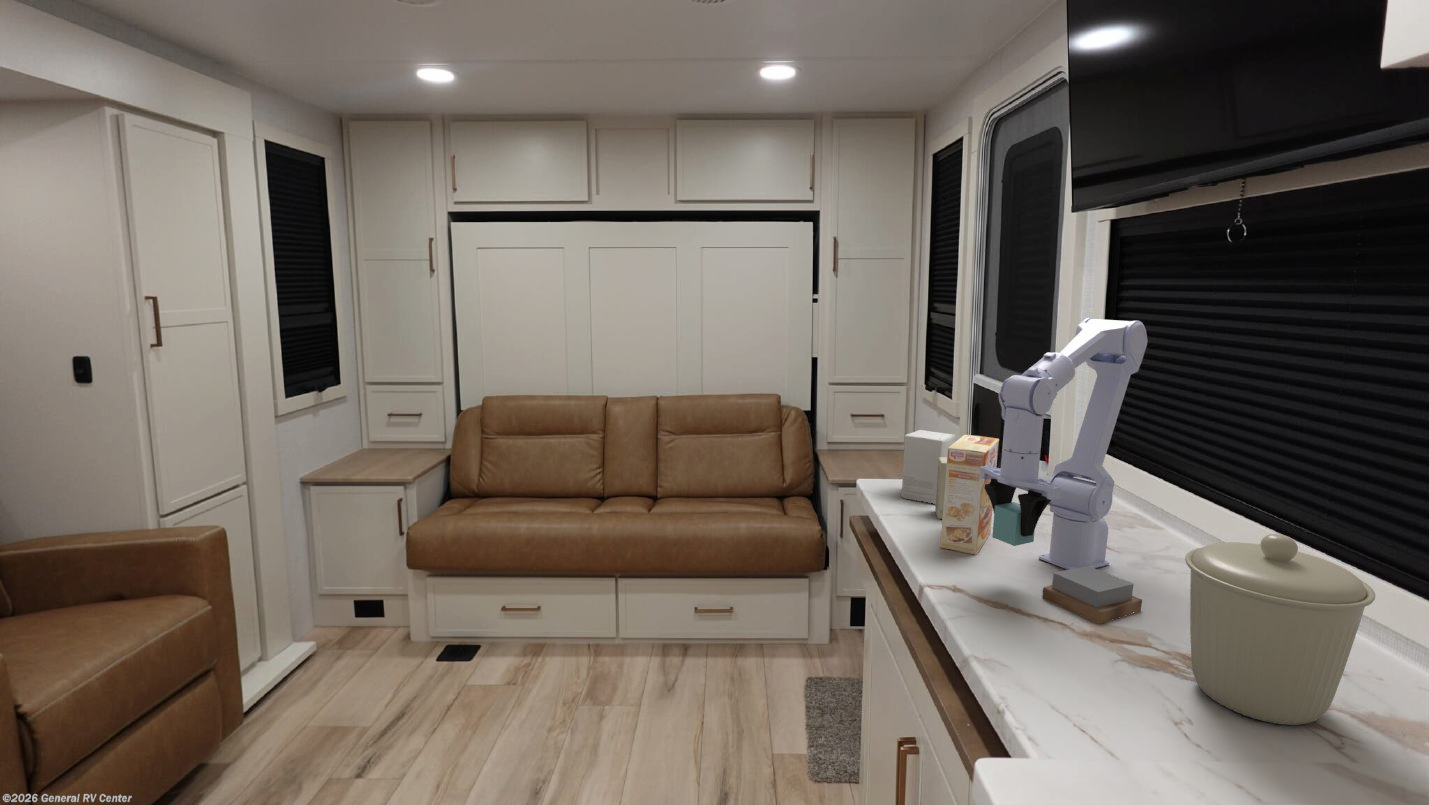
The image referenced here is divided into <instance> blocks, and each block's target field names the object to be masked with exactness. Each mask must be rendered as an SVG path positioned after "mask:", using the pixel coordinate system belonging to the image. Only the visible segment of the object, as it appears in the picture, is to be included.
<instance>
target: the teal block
mask: <svg viewBox="0 0 1429 805" xmlns="http://www.w3.org/2000/svg"><path fill="white" fill-rule="evenodd" d="M993 515H994V516H993V523H992V524H993V526H992V534H991V535H992V536H991V538H993V539H995V540H998V541H1000V542H1003V543H1005V544H1009V545H1011V546H1012V547H1016V546H1020V545H1024V544H1025V545H1026V544H1030V543H1034V541H1035V530H1036V529H1035V530H1034V533H1033V535H1031V536H1026V537H1024V536H1021V530H1020V529H1021V508H1020V503H1019V502H1015V501H1012V502H1011V503H1006V504H1000V505H995V511H993Z"/></svg>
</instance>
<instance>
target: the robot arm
mask: <svg viewBox="0 0 1429 805" xmlns="http://www.w3.org/2000/svg"><path fill="white" fill-rule="evenodd" d="M1147 346H1148V335H1147V329H1146V327H1145V325H1144V323H1143V322H1142V321H1140V320H1120V319H1119V320H1116V319H1115V320H1114V319H1100V318H1099V319H1098V318H1093V317H1087V318H1084V319H1083V320H1082V322H1080V323H1078V324H1077V327H1076V329H1075V336H1074V337H1073V339H1071V341H1069V343H1068V344H1067V345H1065V346H1064V347H1063V348H1062V349H1061V350H1060V352H1049V351H1048V352H1046V353H1044V354H1043V356H1042V357H1041V359H1039V360H1038V361H1037V362H1036V363H1034V364H1033V365H1031V367H1029V368H1028V369H1027V370H1025V371H1024V372H1023V373H1022V374H1021V375H1018V374H1014V375H1011V376H1010V377H1008V378H1006V379H1005V380H1004V381H1003V383H1002V385H1001V387H1000V390H999V392H998V401H999V402H998V403H999V404H1000V407H1001V418H1002V420H1004V426H1003V435H1002V437H1003V440H1002V449H1001V459H1000V460H1001V461H1000V467H997V466H996V467H991V466H983V467H980V476H979V478H982V479H990V480H991V482H990V484H986V485H985V490H986V492H987V494H988V496H989V498H990V501H991V504H992V507H993V509H992V512H994V511H995V505H1000V504H1006V503H1011V502H1013V500H1014V495H1015V493H1016V490H1017V489H1018V490H1022V491H1025V492H1027V493H1020V494H1018V495H1017V499H1018V504H1020V508H1021V529H1020V530H1021V536H1024V537H1026V536H1031V535H1033V533H1034V534H1035V531H1034V530H1036V528H1037V525H1038V521H1040V520H1039V519H1040V517H1042V515H1043V512H1044V511H1045V509H1046V508H1047V507H1048V506H1049V512H1051V513H1053V514H1052V523H1051V524H1052V526H1051V537H1050V545H1049V552H1048V553H1045V554H1040V555H1038V556H1037V557H1038V559H1040V560H1042V561H1043V562H1047V563H1050V564H1052V565H1054V566H1057V567H1060V568H1062V569H1063V570H1069V569H1074V568H1079V567H1084V566H1090V567H1093V568H1095V569H1098V568H1101V567H1105V566H1108V565H1110V561H1108V560H1106V556H1107V555H1106V554H1107V547H1108V537H1109V526H1108V523H1107V521H1106V520H1105V518H1104V517H1106V516H1107V514H1109V511H1110V510H1111V507H1112V504H1113V492H1114V487H1115V481H1114V479H1113V477H1112V476H1111V474H1109V472H1108V471H1107V470H1106V468H1105V467H1104V466H1103V465H1104V461H1105V460H1106V459H1105V458H1106V455H1107V451H1108V449H1109V446H1110V442H1111V439H1112V435H1113V433H1114V430H1115V426H1116V423H1117V419H1118V417H1119V414H1120V410H1121V406H1122V405H1123V400H1124V399H1125V398H1124V397H1125V395H1126V391H1127V387H1128V385H1129V382H1130V378H1131V375H1134V374H1136V373H1138V372H1139V370H1140V366H1141V364H1142V362H1143V359H1144V355H1145V352H1146V349H1147ZM1084 363H1086V365H1087V366H1088V367H1089V368H1091V369H1092V370H1094V371H1095V373H1096V379H1095V382H1094V385H1093V389H1092V391H1091V395H1090V398H1089V401H1088V404H1087V408H1086V410H1085V414H1084V417H1083V420H1082V423H1081V426H1080V429H1079V431H1078V432H1079V433H1078V436H1077V438H1076V441H1075V446H1074V448H1073V452H1072V455H1071V457H1070V458H1068V459H1066V460H1064V461H1061V462H1059V463H1057V464H1056V465H1055V466H1054V469H1053V471H1052V474H1051V475H1050V477H1049V478H1048V480H1045V479H1043V478H1041V477H1039V469H1040V461H1041V448H1042V437H1043V427H1044V426H1043V425H1044V416H1045V414H1046V413H1048V412H1049V411H1050V409H1051V408H1052V405H1053V403H1054V401H1055V399H1056V398H1057V395H1058V392H1060V391H1061V390H1062V389H1063V388H1065V386H1066V385H1068V384H1069V383H1070V382H1071V381H1072V380H1074V378H1075V375H1076V368H1078V367H1079V366H1081V365H1082V364H1084ZM1089 480H1090V481H1089ZM1093 481H1094V482H1093Z"/></svg>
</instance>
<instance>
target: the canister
mask: <svg viewBox="0 0 1429 805" xmlns="http://www.w3.org/2000/svg"><path fill="white" fill-rule="evenodd" d="M1184 557H1185V558H1184V560H1185V563H1186V566H1187V567H1188V568H1189V569H1190V587H1189V588H1190V589H1189V591H1190V596H1189V598H1190V600H1189V601H1190V613H1189V614H1190V617H1189V618H1190V619H1189V620H1190V631H1189V632H1190V660H1191V668H1192V670H1191V671H1192V672H1193V673H1192V674H1193V676H1194V680H1195V682H1196V683H1197V684H1198V686H1199V687H1200V689H1201V691H1203V692H1204V693H1205V694H1206V696H1208V697H1210V698H1211V699H1212V700H1213V701H1215V702H1217V703H1218V704H1219V705H1221V706H1224V707H1225V708H1226V709H1229V710H1231V711H1233V712H1235V713H1238V714H1241V715H1243V716H1244V717H1245V716H1246V717H1250V718H1251V719H1253V720H1254V719H1255V720H1259V721H1261V722H1267V723H1269V724H1270V723H1271V724H1279V725H1289V726H1292V725H1295V726H1300V725H1307V724H1310V723H1313V722H1315V721H1317V720H1319V719H1320V718H1322V717H1323V716H1324V715H1325V714H1326V712H1327V711H1328V710H1329V709H1330V708H1331V705H1332V704H1333V700H1334V699H1335V695H1336V692H1337V690H1338V688H1339V685H1340V683H1341V681H1342V676H1343V674H1344V672H1345V668H1346V666H1347V662H1348V660H1349V657H1350V654H1351V651H1352V648H1353V645H1354V642H1355V639H1356V635H1357V634H1358V630H1359V627H1360V624H1361V621H1362V616H1363V613H1364V611H1365V608H1366V607H1368V606H1370V605H1371V604H1372V603H1373V602H1374V601H1375V600H1376V593H1375V591H1374V590H1373V588H1372V587H1371V586H1370V585H1368V583H1367V582H1365V581H1363V580H1362V579H1360V578H1359V577H1358V576H1357V575H1355V574H1354V573H1353V572H1351V571H1350V570H1348V569H1346V568H1344V567H1342V566H1340V565H1338V564H1337V563H1336V564H1335V562H1332V561H1329V560H1327V559H1325V558H1320V557H1318V556H1314V555H1311V554H1308V553H1304V552H1301V551H1299V547H1298V544H1297V542H1296V541H1295V540H1294V539H1293V538H1291V537H1290V536H1287V535H1284V534H1279V533H1271V534H1268V535H1265V536H1263V537H1262V539H1261V540H1260V544H1259V543H1249V542H1229V541H1227V542H1218V543H1212V544H1211V543H1210V544H1207V545H1205V546H1201V547H1198V548H1194V549H1192V550H1190V551H1188V552H1187V553H1186V554H1185V556H1184Z"/></svg>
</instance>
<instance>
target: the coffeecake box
mask: <svg viewBox="0 0 1429 805" xmlns="http://www.w3.org/2000/svg"><path fill="white" fill-rule="evenodd" d="M999 441H1000V439H999V438H998V437H997V438H995V437H988V436H981V435H972V434H971V435H970V434H964V435H962V436H961V437H959V438H958V439H957V440H955V443H953V444H952V445H951V446H950V447H948V456H947V467H946V481H945V494H944V506H943V518H942V521H941V534H940V535H941V537H940V545H939V547H940V548H941V549H945V550H951V551H955V552H960V553H965V554H970V555H975V556H977V555H978V554H979V553H980V550H981V549H982V547H983V546H984V544H986V543H985V542H986V541H987V539H988V537H989V536H990V535H991V531H992V521H993V520H992V517H993V507H992V504H991V501H990V498H989V496H988V494H987V492H986V490H985V485H986V484H990V482H991V480H990V479H982V478H979V476H980V467H983V466H991V467H996V468H997V465H998V464H997V463H998V462H997V461H998V454H999V453H998V450H999Z"/></svg>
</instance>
